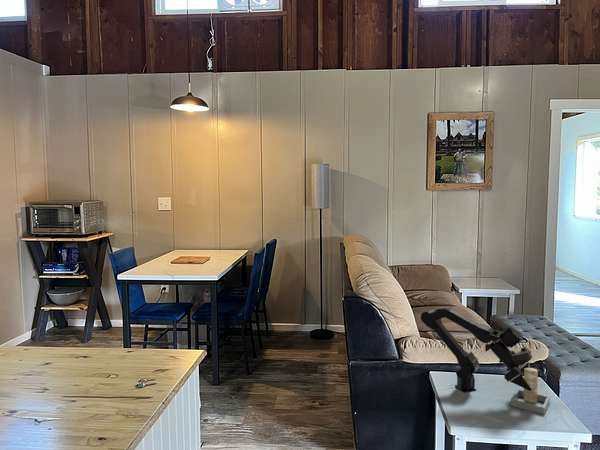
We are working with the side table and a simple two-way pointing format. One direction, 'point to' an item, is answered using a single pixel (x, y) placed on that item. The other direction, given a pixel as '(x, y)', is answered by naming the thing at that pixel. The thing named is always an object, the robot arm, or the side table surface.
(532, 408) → the tray
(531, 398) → the tan wooden tall block
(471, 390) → the robot arm
